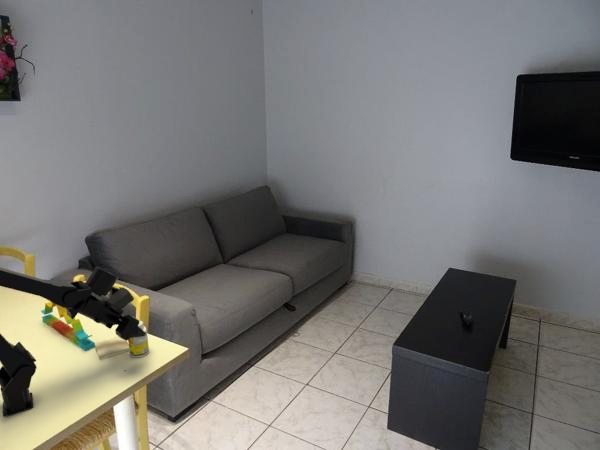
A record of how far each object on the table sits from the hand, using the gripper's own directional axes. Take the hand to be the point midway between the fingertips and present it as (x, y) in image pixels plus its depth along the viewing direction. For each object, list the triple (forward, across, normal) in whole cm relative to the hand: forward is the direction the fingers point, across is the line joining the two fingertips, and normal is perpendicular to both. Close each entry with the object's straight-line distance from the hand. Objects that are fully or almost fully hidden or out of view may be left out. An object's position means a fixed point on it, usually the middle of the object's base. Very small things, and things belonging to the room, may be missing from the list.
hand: (137, 329), depth 135 cm
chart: (-2, +28, +14) cm, 32 cm away
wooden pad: (+2, +9, +9) cm, 13 cm away
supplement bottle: (+6, 0, +6) cm, 8 cm away
